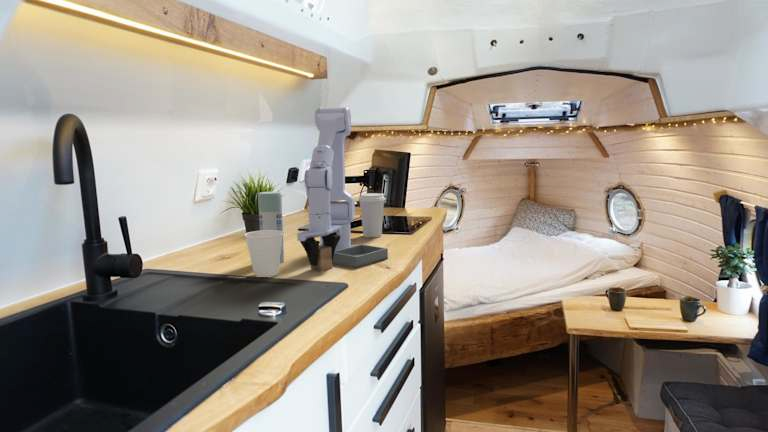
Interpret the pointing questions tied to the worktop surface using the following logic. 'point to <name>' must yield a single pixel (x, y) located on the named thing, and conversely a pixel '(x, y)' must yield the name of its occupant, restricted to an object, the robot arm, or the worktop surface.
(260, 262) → the cup
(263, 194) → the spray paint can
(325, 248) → the walnut block
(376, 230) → the coffee cup
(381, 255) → the bin
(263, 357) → the worktop surface
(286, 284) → the worktop surface
